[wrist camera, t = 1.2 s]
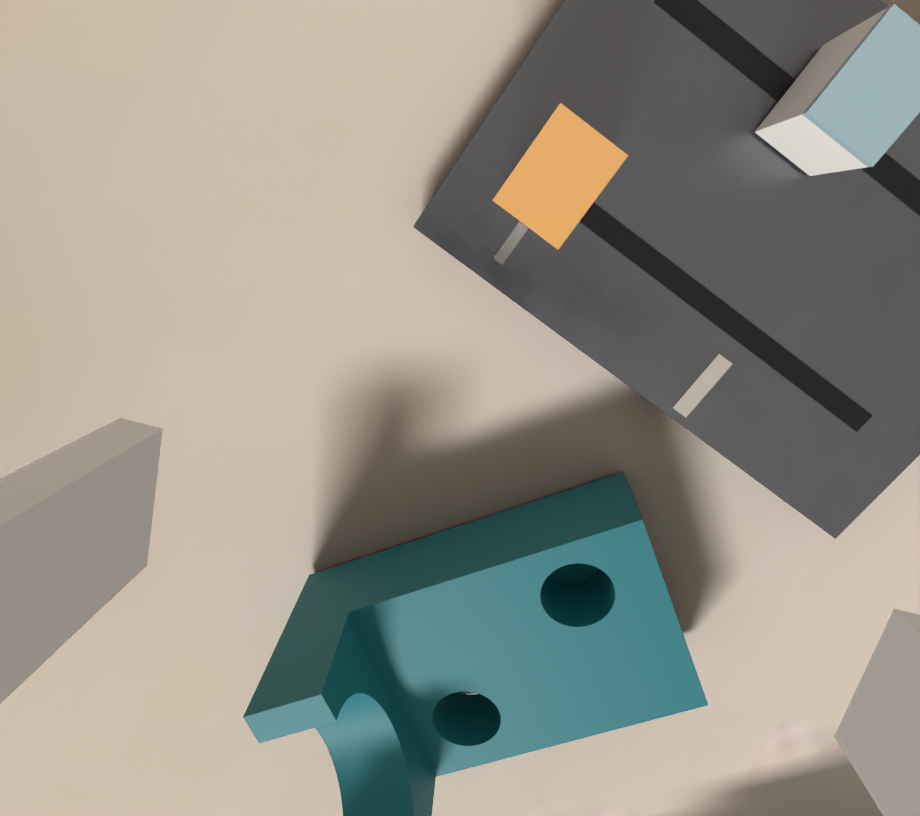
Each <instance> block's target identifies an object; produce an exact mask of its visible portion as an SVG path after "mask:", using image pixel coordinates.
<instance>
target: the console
mask: <svg viewBox="0 0 920 816" xmlns="http://www.w3.org/2000/svg"><path fill="white" fill-rule="evenodd" d="M886 8H888V7H887V6H886V5H885V4H884V3H882V2H881V1H880V0H565V1H564V2H563V4H562V5H561V7H560V8H559V10H558V11H557V13H556V14H555V16H554V17H553V19H552V20H551V22H550V23H549V25H548V26H547V27H546V29H545V30H544V32H543V33H542V35H541V36H540V38H539V39H538V41H537V42H536V44H535V45H534V47H533V48H532V50H531V51H530V53H529V54H528V56H527V57H526V59H525V60H524V62H523V63H522V65H521V66H520V68H519V69H518V71H517V72H516V74H515V75H514V77H513V78H512V80H511V81H510V83H509V84H508V86H507V87H506V89H505V90H504V92H503V93H502V95H501V96H500V98H499V99H498V101H497V102H496V104H495V105H494V107H493V108H492V110H491V111H490V113H489V114H488V116H487V117H486V119H485V120H484V122H483V123H482V125H481V126H480V128H479V129H478V131H477V132H476V134H475V135H474V137H473V138H472V140H471V141H470V143H469V144H468V146H467V147H466V149H465V150H464V152H463V153H462V155H461V156H460V158H459V159H458V161H457V162H456V164H455V165H454V166H453V168H452V169H451V171H450V172H449V174H448V175H447V177H446V178H445V180H444V181H443V183H442V184H441V186H440V187H439V189H438V190H437V192H436V193H435V195H434V196H433V198H432V199H431V201H430V202H429V204H428V205H427V207H426V208H425V210H424V211H423V213H422V214H421V216H420V217H419V219H418V220H417V222H416V223H415V225H414V226H413V227H414V228H415V229H417V230H418V231H419V232H421V233H422V234H424V235H425V236H426V237H428V238H429V239H430V240H432V241H433V242H434V243H436V244H437V245H438V246H440V247H441V248H443V249H444V250H445V251H447V252H448V253H449V254H451V255H452V256H453V257H455V258H456V259H457V260H459V261H460V262H461V263H463V264H464V265H466V266H467V267H468V268H470V269H471V270H472V271H474V272H475V273H476V274H478V275H479V276H480V277H482V278H483V279H484V280H486V281H487V282H489V283H490V284H491V285H493V286H494V287H495V288H497V289H498V290H499V291H501V292H502V293H503V294H505V295H506V296H508V297H509V298H510V299H512V300H513V301H514V302H516V303H517V304H518V305H520V306H521V307H522V308H524V309H525V310H526V311H528V312H529V313H531V314H532V315H533V316H535V317H536V318H537V319H539V320H540V321H541V322H543V323H544V324H545V325H547V326H548V327H549V328H551V329H552V330H554V331H555V332H556V333H558V334H559V335H560V336H562V337H563V338H564V339H566V340H567V341H568V342H570V343H571V344H573V345H574V346H575V347H577V348H578V349H579V350H581V351H582V352H583V353H585V354H586V355H587V356H589V357H590V358H591V359H593V360H594V361H596V362H597V363H598V364H600V365H601V366H602V367H604V368H605V369H606V370H608V371H609V372H610V373H612V374H613V375H615V376H616V377H617V378H619V379H620V380H621V381H623V382H624V383H625V384H627V385H628V386H629V387H631V388H632V389H633V390H635V391H636V392H638V393H639V394H640V395H642V396H643V397H644V398H646V399H647V400H648V401H650V402H651V403H652V404H654V405H655V406H656V407H658V408H659V409H661V410H662V411H663V412H665V413H666V414H667V415H669V416H670V417H671V418H673V419H674V420H675V421H677V422H678V423H680V424H681V425H682V426H684V427H685V428H686V429H688V430H689V431H690V432H692V433H693V434H694V435H696V436H697V437H698V438H700V439H701V440H703V441H704V442H705V443H707V444H708V445H709V446H711V447H712V448H713V449H715V450H716V451H717V452H719V453H720V454H721V455H723V456H724V457H726V458H727V459H728V460H730V461H731V462H732V463H734V464H735V465H736V466H738V467H739V468H740V469H742V470H743V471H745V472H746V473H747V474H749V475H750V476H751V477H753V478H754V479H755V480H757V481H758V482H759V483H761V484H762V485H763V486H765V487H766V488H768V489H769V490H770V491H772V492H773V493H774V494H776V495H777V496H778V497H780V498H781V499H782V500H784V501H785V502H786V503H788V504H789V505H791V506H792V507H793V508H795V509H796V510H797V511H799V512H800V513H801V514H803V515H804V516H805V517H807V518H808V519H810V520H811V521H812V522H814V523H815V524H816V525H818V526H819V527H820V528H822V529H823V530H824V531H826V532H827V533H828V534H830V535H831V536H833V537H834V538H835V539H836V538H837V537H838V536H839V535H840V534H841V533H842V532H843V531H844V530H845V529H846V528H847V527H848V526H849V525H850V524H851V523H852V522H853V521H854V520H855V519H856V518H857V517H858V516H859V515H860V514H861V513H862V512H863V511H864V510H865V509H866V508H867V507H868V506H869V505H870V504H871V503H872V502H873V501H874V500H875V499H876V498H877V497H878V496H879V495H880V494H881V493H882V492H883V491H884V490H885V489H886V488H887V487H888V486H889V485H890V484H891V483H892V482H893V481H894V480H895V479H896V478H897V477H898V476H899V475H900V474H901V473H902V472H903V471H904V470H905V469H906V468H907V467H908V466H909V465H910V464H911V463H912V462H913V461H914V460H915V459H916V458H917V457H918V456H919V455H920V113H919V114H918V115H917V116H916V117H915V118H914V120H913V121H912V122H911V123H910V124H909V125H908V127H907V128H906V129H905V130H904V131H903V132H902V134H901V135H900V136H899V137H898V138H897V139H896V141H895V142H894V143H893V144H892V145H891V146H890V148H889V149H888V150H887V151H886V152H885V153H884V155H883V156H882V157H881V158H880V159H879V160H878V162H877V163H876V164H875V165H874V166H873V167H866V168H860V169H853V170H847V171H840V172H833V173H827V174H820V175H813V176H809V175H808V174H806V173H805V172H804V171H803V170H801V169H800V168H799V167H798V166H796V165H795V164H794V163H793V162H791V161H790V160H789V159H788V158H786V157H785V156H784V155H783V154H781V153H780V152H779V151H778V150H776V149H775V148H774V147H773V146H771V145H770V144H769V143H768V142H766V141H765V140H764V139H763V138H761V137H760V136H759V135H757V134H756V133H755V131H756V129H757V128H758V127H759V126H760V124H761V123H762V122H763V121H764V119H765V118H766V117H767V116H768V114H769V113H770V112H771V110H772V109H773V108H774V107H775V105H776V104H777V103H778V102H779V100H780V99H781V98H782V97H783V95H784V94H785V93H786V91H787V90H788V89H789V88H790V86H791V85H792V84H793V83H794V81H795V80H796V79H797V78H798V76H799V75H800V74H801V72H802V71H803V70H804V69H805V67H806V66H807V65H808V64H809V62H810V61H811V60H812V59H813V57H814V56H815V55H816V53H817V52H818V51H819V50H820V48H821V47H822V46H823V45H824V44H825V43H827V42H829V41H830V40H832V39H834V38H836V37H837V36H839V35H841V34H843V33H844V32H846V31H848V30H850V29H851V28H853V27H855V26H856V25H858V24H860V23H862V22H863V21H865V20H867V19H869V18H870V17H872V16H874V15H875V14H877V13H879V12H881V11H882V10H884V9H886ZM560 103H562V104H563V105H564V106H565V107H567V108H568V109H569V110H571V111H572V112H573V113H574V114H576V115H577V116H578V117H580V118H581V119H582V120H583V121H585V122H586V123H587V124H589V125H590V126H591V127H592V128H594V129H595V130H596V131H598V132H599V133H600V134H601V135H603V136H604V137H605V138H607V139H608V140H609V141H610V142H612V143H613V144H614V145H616V146H617V147H618V148H620V149H621V150H622V151H623V152H625V153H626V154H627V155H628V157H627V158H626V159H625V161H624V162H623V163H622V165H621V166H620V167H619V169H618V170H617V171H616V173H615V174H614V175H613V177H612V178H611V180H610V181H609V182H608V184H607V185H606V186H605V188H604V189H603V190H602V192H601V193H600V194H599V196H598V197H597V198H596V200H595V201H594V202H593V204H592V205H591V206H590V208H589V209H588V210H587V212H586V213H585V215H584V216H583V217H582V219H581V220H580V221H579V223H578V224H577V225H576V227H575V228H574V229H573V231H572V232H571V233H570V235H569V236H568V237H567V239H566V240H565V241H564V243H563V244H562V246H561V247H560V248H559V250H558V249H556V248H555V247H554V246H552V245H551V244H550V243H548V242H547V241H546V240H544V239H543V238H542V237H540V236H539V235H538V234H536V233H535V232H534V231H532V230H531V229H530V228H528V227H527V226H526V225H524V224H523V223H522V222H520V221H519V220H518V219H516V218H515V217H514V216H512V215H511V214H510V213H508V212H507V211H506V210H504V209H503V208H502V207H500V206H499V205H498V204H496V203H495V202H494V201H492V200H493V199H494V197H495V196H496V194H497V193H498V192H499V190H500V189H501V187H502V186H503V184H504V183H505V181H506V180H507V179H508V177H509V176H510V174H511V173H512V171H513V170H514V169H515V167H516V166H517V164H518V163H519V161H520V160H521V159H522V157H523V156H524V154H525V153H526V151H527V150H528V148H529V147H530V146H531V144H532V143H533V141H534V140H535V138H536V137H537V136H538V134H539V133H540V131H541V130H542V128H543V127H544V126H545V124H546V123H547V121H548V120H549V118H550V117H551V115H552V114H553V113H554V111H555V110H556V108H557V107H558V105H559V104H560Z"/></svg>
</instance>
